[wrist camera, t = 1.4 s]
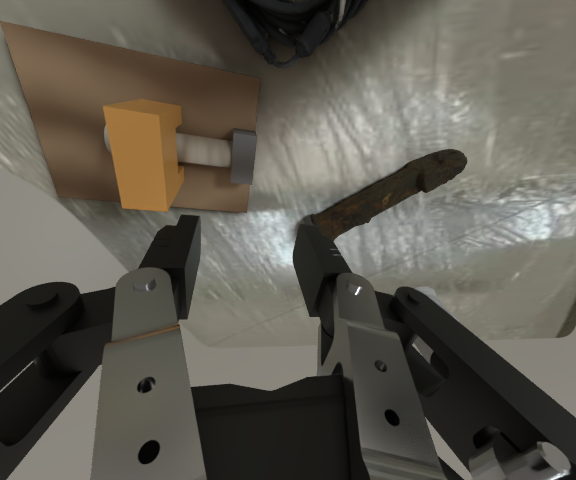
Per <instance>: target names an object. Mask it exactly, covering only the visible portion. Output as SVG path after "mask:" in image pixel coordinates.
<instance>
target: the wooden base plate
mask: <svg viewBox="0 0 576 480" xmlns="http://www.w3.org/2000/svg"><path fill="white" fill-rule="evenodd" d="M0 23H1V26H2V29H3V32H4V35H5V38H6V41H7V44H8V47H9V50H10V53H11V56H12V59H13V62H14V65H15V68H16V71H17V74H18V77H19V80H20V83H21V86H22V89H23V92H24V95H25V98H26V101H27V104H28V107H29V110H30V113H31V116H32V119H33V122H34V125H35V128H36V131H37V134H38V137H39V140H40V143H41V146H42V149H43V152H44V155H45V158H46V161H47V164H48V167H49V170H50V173H51V176H52V179H53V182H54V185H55V188H56V191H57V194H58V197H65V198H77V199H89V200H101V201H113V202H121V199H120V194H119V188H118V183H117V178H116V173H115V168H114V162H113V157H112V152H111V147H110V142H109V136H108V131H107V126H106V121H105V115H104V110H103V106H106V105H111V104H117V103H122V102H128V101H133V100H139V99H146V100H152V101H157V102H163V103H168V104H174V105H180V106H181V113H182V124H181V125H179V126H178V127H177V128H176V144H177V162H178V165H180V166H184V182H183V183H182V185H181V187H180V189H179V191H178V193H177V195H176V197H175V198H174V200H173V202H172V204H171V206H172V207H184V208H196V209H208V210H220V211H232V212H244V213H247V207H248V197H249V187H250V185H252V179H253V170H254V160H255V151H256V141H257V135H256V132H255V128H256V118H257V108H258V98H259V88H260V79H261V78H256V77H252V76H247V75H243V74H238V73H234V72H229V71H224V70H220V69H215V68H211V67H206V66H202V65H197V64H193V63H188V62H184V61H179V60H175V59H170V58H166V57H161V56H156V55H152V54H147V53H143V52H138V51H134V50H129V49H125V48H120V47H116V46H111V45H107V44H102V43H98V42H93V41H89V40H84V39H79V38H75V37H70V36H66V35H61V34H57V33H52V32H48V31H43V30H39V29H34V28H30V27H25V26H21V25H16V24H12V23H7V22H2V21H0Z"/></svg>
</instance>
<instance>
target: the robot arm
mask: <svg viewBox="0 0 576 480" xmlns="http://www.w3.org/2000/svg"><path fill="white" fill-rule="evenodd" d="M200 253H201V221H200V216H194V215H181V216H180V218H179V221H178V223H177V226H172V225H166V226H165V227H163V228H162V229H161V230H159V231H158V232H157V234H156V236H155V238H154V241H152V243H151V245H150V247H149V249H148V251H147V253H146V255H145V257H144V258H143V260H142V262H141V264H140V266H139V268H138V269H136V270H133V271H131V272H129V273H127V274H125V275H124V276H122V277H121V278H120V279H119V281H118V282H117V284H116V287H113V288H109V289H105V290H100V291H94V292H89V293H84V294H80V292H79V289H78V288H77V287H76V286H75V285H73V284H71V283H67V282H51V283H45V284H41V285H37V286H34V287H31V288H29V289H27V290H24V291H22V292H21V293H19V294H17V295H16V296H14V297H13V298H11V299H9V300H8V301H6V302H5V303H3V304H2V305H0V390H1V389H2V388H3V387H4V386H6V385H7V384H8V383H9V382H10V381H11V380H12V379H13V378H14V377H15V376H16V375H18V373H20V372H21V371H22V370H23V369H24V368H25V367H26V366H27V365H28V364H29V363H30V362H31V361H33V363H32V364H31V365H30V366H29V367H27V368H26V370H25V371H23V372H22V373H21V374H20V375H19V376H18V377H17V378H16V379H14V380H13V381H12V382H11V383H10V384H9V385H8V386H7V387H6V388H5V389H4V390H3V391H2V392H0V480H6V479H7V478H8V477H9V475H10V474H11V473H12V472H13V471H14V469H15V468H16V467H17V465H18V464H19V463H20V462H21V461H22V460H23V458H24V457H25V456H26V455H27V453H28V452H29V451H30V450H31V448H32V447H33V446H34V445H35V443H36V442H37V441H38V440H39V438H40V437H41V436H42V435H43V434H44V432H45V431H46V430H47V429H48V428H49V426H50V425H51V424H52V423H53V422H54V420H55V419H56V418H57V417H58V415H59V414H60V413H61V412H62V411H63V409H64V408H65V407H66V406H67V404H68V403H69V402H70V401H71V399H72V398H73V397H74V396H75V395H76V393H77V392H78V391H79V390H80V389H81V387H82V386H83V385H84V384H85V382H86V381H87V380H88V379H89V377H90V376H91V375H92V374H93V373H94V371H95V370H96V369H97V367H98V366H99V365H102V370H101V380H100V391H99V400H98V410H97V420H96V429H95V440H94V449H93V458H92V469H91V478H90V480H464V479H463V478H462V477H460V476H459V475H458V474H457V473H456V472H455V471H454V470H453V469H452V468H451V467H450V466H448V465H447V464H446V463H445V462H444V461H443V460H442V459H441V458H440V457H438V456H437V453H436V450H435V447H434V444H433V440H432V438H431V434H430V431H429V428H428V425H427V422H426V419H425V417H426V418H427V420H428V421H429V422H430V423H431V425H432V426H433V427H434V428H435V429H436V431H437V432H438V433H439V435H440V436H441V437H442V438H443V440H444V441H445V442H446V443H447V444H448V446H449V447H450V448H451V449H452V451H453V452H454V453H455V455H456V456H457V457H458V458H459V460H460V461H461V462H462V463H463V465H464V466H465V467H466V468H467V469H468V471H469V472H470V473H471V476H472V478H473V479H472V480H576V418H575V417H574V416H573V415H572V414H570V413H569V412H568V411H567V410H566V409H564V408H563V407H562V406H561V405H559V404H558V403H557V402H556V401H555V400H553V399H552V398H551V397H550V396H549V395H547V394H546V393H545V392H544V391H542V390H541V389H540V388H539V387H537V386H536V385H535V384H534V383H533V382H531V381H530V380H529V379H528V378H526V377H525V376H524V375H523V374H522V373H521V372H519V371H518V370H517V369H516V368H514V367H513V366H512V365H510V364H509V363H508V362H507V361H506V360H504V359H503V358H502V357H501V356H500V355H499V354H497V353H496V352H495V351H494V350H492V349H491V348H490V347H489V346H488V345H486V344H485V343H484V342H483V341H481V340H480V339H479V338H478V337H477V336H475V335H474V334H473V333H472V332H470V331H469V330H468V329H467V328H466V327H464V326H463V325H462V324H461V323H459V322H458V321H457V320H456V319H455V318H453V317H452V316H451V315H450V314H448V313H447V312H446V311H445V310H444V309H442V308H441V307H440V306H439V305H438V304H436V303H435V302H434V301H433V300H431V299H430V298H429V297H428V296H426V295H425V294H424V293H422V292H420V291H418V290H416V289H414V288H410V287H400V288H398V289H397V290H396V292H395V294H394V295H389V294H385V293H381V292H377V291H374V288H373V286H372V284H371V283H370V282H369V281H368V280H366V279H365V278H364V277H362V276H360V275H357V274H354V273H352V271H351V270H350V268H349V266H348V265H347V263H346V262H345V260H344V258H343V257H342V256H341V253H340V252H339V250H338V248H337V247H336V245H335V243H334V242H333V241H332V240H331V239H329V238H328V237H327V236H322V234H321V232H320V230H319V229H318V227H317V225H309V224H300V226H299V228H298V233H297V237H296V241H295V246H294V250H293V265H294V268H295V271H296V274H297V277H298V281H299V284H300V287H301V290H302V293H303V297H304V300H305V303H306V306H307V310H308V313H309V316H310V317H320V320H321V322H320V325H319V328H318V363H317V376H315V377H306V378H304V379H301V380H299V381H297V382H294V383H292V384H289V385H286V386H284V387H281V388H279V389H277V390H273V391H266V390H260V389H255V388H250V387H245V386H239V385H234V384H221V385H210V386H198V387H190V381H189V375H188V370H187V364H186V359H185V353H184V347H183V341H182V336H181V330H180V325H179V324H178V322H179V319H188V314H189V309H190V304H191V299H192V295H193V290H194V285H195V280H196V275H197V271H198V266H199V261H200ZM418 336H419V337H420V338H421V339H422V340H423V341H424V342H425V343H426V344H427V345H428V346H429V347H430V348H431V349H432V350H433V351H434V352H435V353H436V354H437V355H438V356H439V357H440V358H441V359H442V360H443V361H444V362H445V363H446V365H447V367H448V369H449V378H448V379H447V380H446V379H444V378H443V377H442V376H441V375H440V374H439V373H438V372H437V371H436V370H435V369H434V368H433V367H432V366H431V365H430V364H429V363H428V362H427V361H426V359H425V358H424V357H423V356H422V355H421V354H420V353H419V352H418V351H417V350H416V349H415V348H414V347H413V346H412V344H413V343H414V341H415V340H416V339H417V337H418Z"/></svg>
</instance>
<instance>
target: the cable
mask: <svg viewBox="0 0 576 480" xmlns="http://www.w3.org/2000/svg"><path fill="white" fill-rule="evenodd" d="M367 1H368V0H309V1H307V2H301V3H293V2H292V1H290V0H223V2H224V3H225V5H226V6H227V8H228V9H229V11H230V12H231V14H232V16H233V17H234V19H235V20H236V22H237V23H238V25H239V26H240V28H241V29H242V31H243V32H244V34H245V35H246V37H247V38H248V40H249V41H250V43H251V44H252V46H253V47H254V49H255V50H256V51H257V52H258V53H259V54H260V55H263V57H264V59H265V60H266V61H267V62H268V63H269V64H273V65H275V66H276V67H278V68H288V67H290V66H291V65H293V64H294V63H295V62H296V61H297V60H298V59H299V58H304V57H308V56H310V55H311V54H312V53H313V51H314V50H315V49H316V48H317V46H320V45H321V44H323V43H324V42H326V41H327V40H328V39H329V38H330V37H331V36H332V35H333V34H334V33H335V32H336V31H337V30H339V29H340V28H341V27H343V26H344V25H345V24H346V23H347V21H348V20H350V19H351V18H352V17H354V16H355V15H356V14H357V13H358V12H359V11H360V10H361V9H362V8H363V7H364V5H365V4H366V3H367ZM291 33H298V34H301V35H300V37H299V38H298V39H297V40H296V39H292V36H291ZM268 34H269V35H270V36H272V37H273V38H274V39H276V40H277V41H278V42H280V43H281V44H283V45H285V46H288V47H290V48H293V49H295V51H296V54H295V55H294V56H293V57H292V58H291V59H290V60H288V61H287V62H279V61H277V59H276V56H275V55H274V53H273V52H272V51H271V50H270V48H269V45H268V42H267V36H268Z"/></svg>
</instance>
